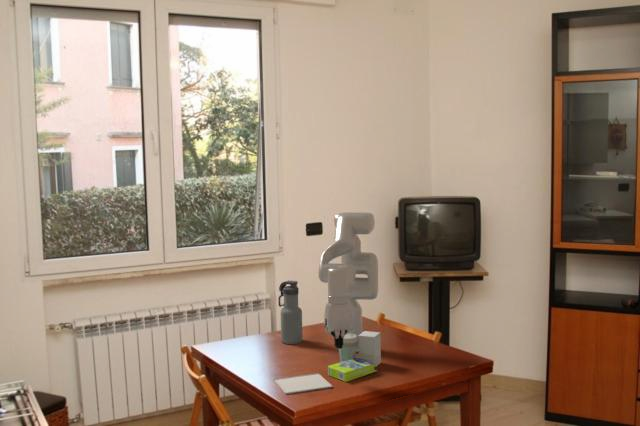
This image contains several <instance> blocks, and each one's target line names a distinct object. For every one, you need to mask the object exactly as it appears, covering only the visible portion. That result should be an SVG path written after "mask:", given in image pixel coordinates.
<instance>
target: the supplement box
mask: <svg viewBox="0 0 640 426" xmlns="http://www.w3.org/2000/svg"><path fill="white" fill-rule="evenodd" d="M381 341H382V340H381V332H379V331H378V332H377V331H367V330H365V331H362V333H361V334H360V335H358V352H357V353H358V358H359V359H362V360H365V361H368V362H371V363H374V368H376V367H378V365H380V364H381V362H382V351H381V350H382V343H381Z"/></svg>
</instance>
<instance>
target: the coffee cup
mask: <svg viewBox="0 0 640 426" xmlns="http://www.w3.org/2000/svg"><path fill="white" fill-rule="evenodd" d="M357 342H358V338H357V336H356V335H355V334H346V335H345V336H344V338H343V345H342V348H340V349H339V350H338V353H339V363H340V362H343V361H347V360H350V359H354V358H357V352H356V351H357Z"/></svg>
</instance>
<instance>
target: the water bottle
mask: <svg viewBox="0 0 640 426" xmlns="http://www.w3.org/2000/svg"><path fill="white" fill-rule="evenodd" d="M287 285H288V286H287ZM278 291H279V292H280V295H279V296H278V297H277V298H278V307H282V308H281V309H280V341H281V342H282V343H283V344H286V345H297V344H300V343H302V341H303V311H302V308H301V307H299V287H298V281H297V280H290V279H288V280H286V281H283V282H281V283H280V284H279V288H278ZM281 297H283V304H282V303H281Z"/></svg>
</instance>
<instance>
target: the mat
mask: <svg viewBox="0 0 640 426" xmlns="http://www.w3.org/2000/svg"><path fill="white" fill-rule="evenodd" d="M273 381H274V382H275V383H276V385H277V386H278V387H279V388H280V389H281V390H282V391H283V393H285V395H286V396H287V395H294V394H300V393H308V392H314V391H321V390H322V391H323V390H327V389H333V388H334V386H333V385H332V384H331V383H330V382H329V381H327V380H326V379H325V378H324V377H323V376H322V375H321V374H320V373H319V372H315V373H309V374H302V375H295V376H288V377H279V378H274V379H273Z"/></svg>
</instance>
